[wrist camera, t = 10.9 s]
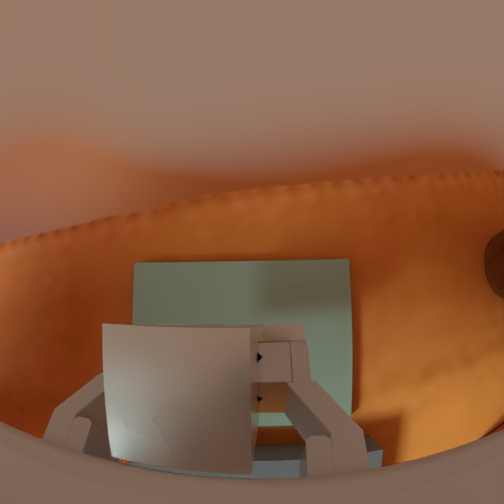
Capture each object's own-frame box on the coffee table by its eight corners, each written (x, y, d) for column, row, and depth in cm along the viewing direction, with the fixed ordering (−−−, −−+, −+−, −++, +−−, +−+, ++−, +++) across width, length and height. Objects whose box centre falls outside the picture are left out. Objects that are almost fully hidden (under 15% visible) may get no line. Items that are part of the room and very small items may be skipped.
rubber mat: (140, 413, 21) (135, 417, 20) (139, 265, 24) (134, 262, 23) (347, 416, 20) (350, 420, 19) (345, 261, 23) (348, 258, 22)
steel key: (172, 376, 16) (43, 436, 5) (171, 323, 17) (35, 316, 6) (301, 378, 16) (353, 467, 5) (301, 323, 16) (358, 323, 5)
